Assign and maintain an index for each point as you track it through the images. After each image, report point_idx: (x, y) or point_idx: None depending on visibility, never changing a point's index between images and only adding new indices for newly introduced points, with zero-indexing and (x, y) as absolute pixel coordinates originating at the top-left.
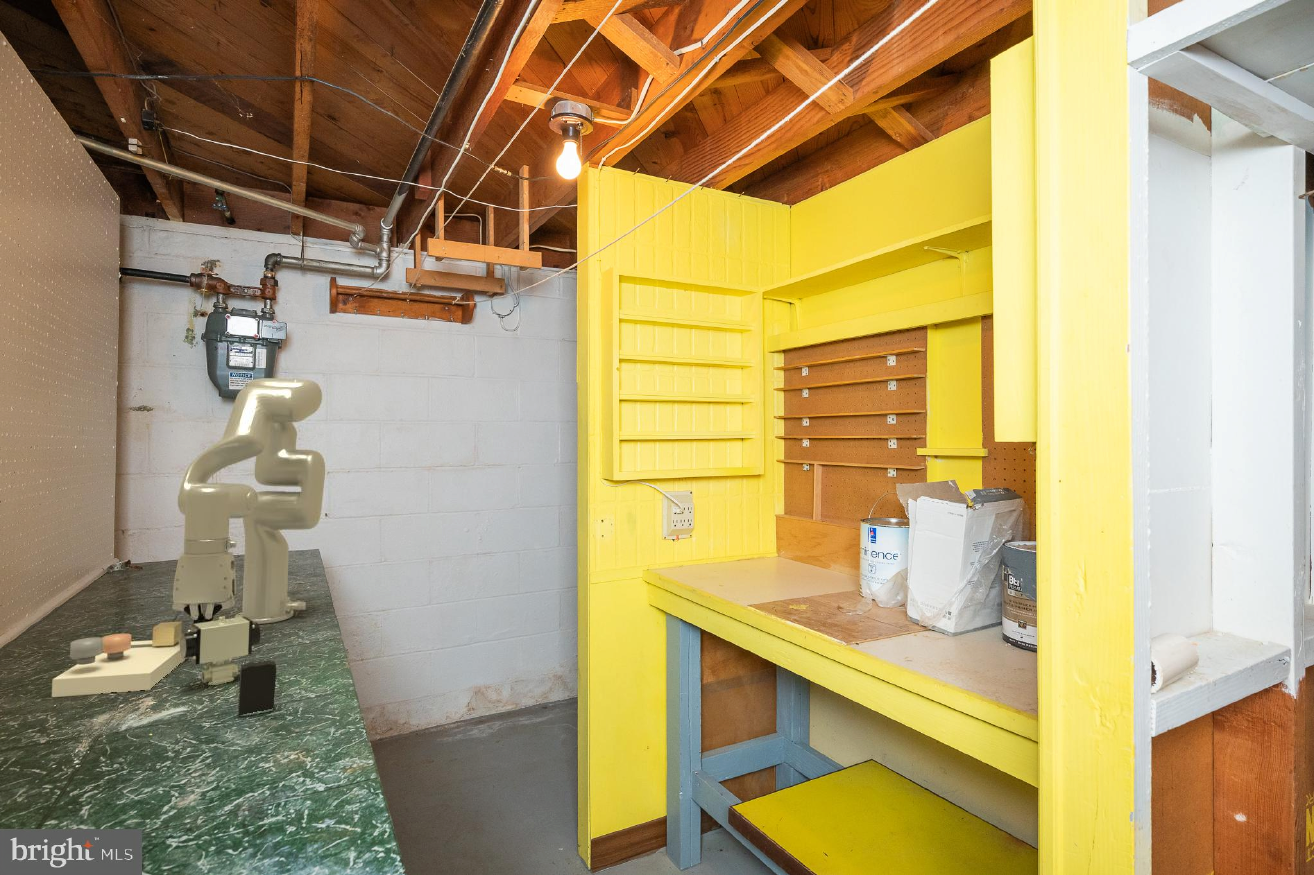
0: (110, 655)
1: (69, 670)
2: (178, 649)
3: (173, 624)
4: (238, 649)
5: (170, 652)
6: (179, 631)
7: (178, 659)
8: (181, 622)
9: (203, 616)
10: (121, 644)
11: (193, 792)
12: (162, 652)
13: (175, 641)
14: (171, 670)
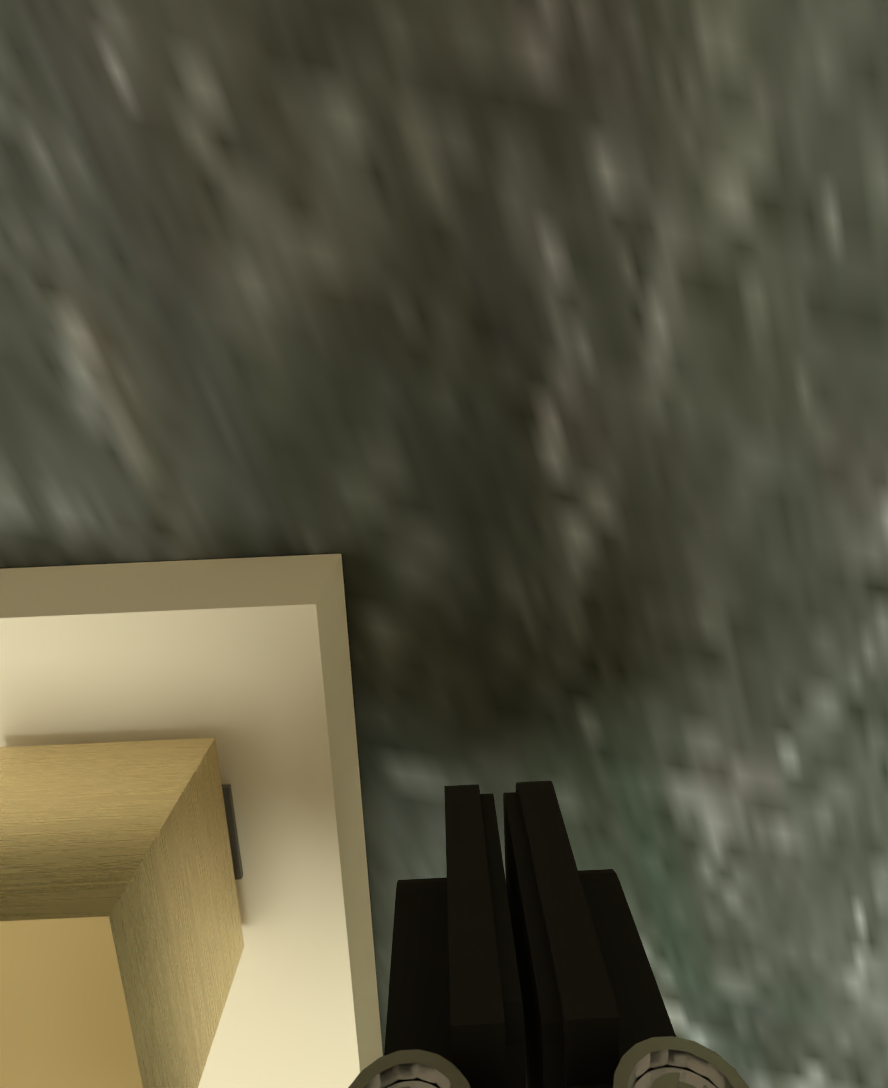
0: None
1: None
2: (339, 1010)
3: (65, 1067)
4: None
5: (307, 1084)
6: (178, 884)
7: (366, 959)
8: (114, 920)
9: (498, 1062)
10: None
11: None
12: (232, 1079)
13: (230, 928)
14: (380, 1041)
